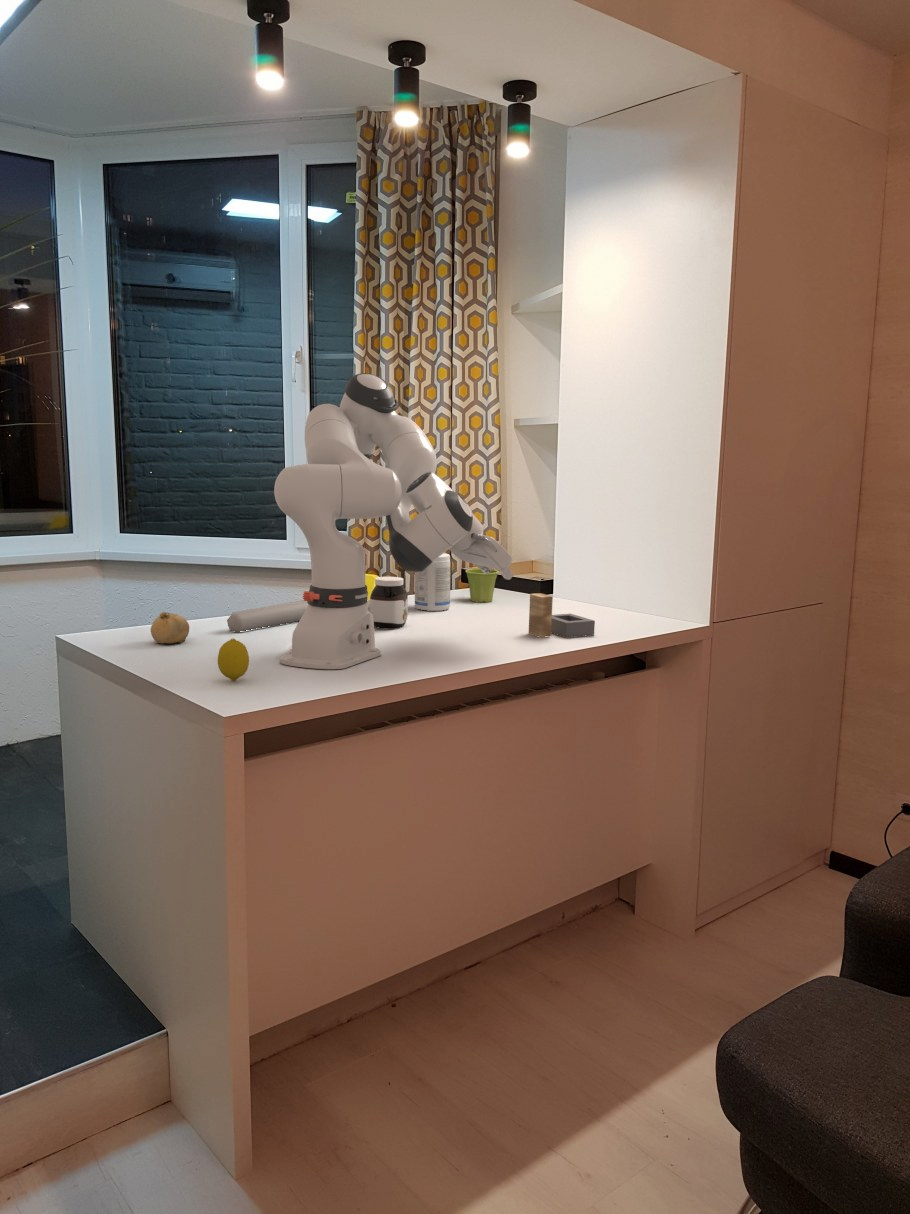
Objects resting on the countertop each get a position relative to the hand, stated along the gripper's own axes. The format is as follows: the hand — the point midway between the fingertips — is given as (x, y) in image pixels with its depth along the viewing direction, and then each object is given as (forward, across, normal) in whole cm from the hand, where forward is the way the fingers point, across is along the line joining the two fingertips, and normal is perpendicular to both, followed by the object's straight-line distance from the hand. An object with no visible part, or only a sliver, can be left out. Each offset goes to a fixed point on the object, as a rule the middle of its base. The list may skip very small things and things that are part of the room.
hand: (499, 574), depth 208 cm
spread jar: (-2, +24, +23) cm, 34 cm away
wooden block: (+19, 0, +2) cm, 19 cm away
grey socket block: (+24, 0, -3) cm, 25 cm away
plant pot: (+26, +46, -5) cm, 54 cm away
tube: (-20, +33, +41) cm, 56 cm away
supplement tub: (+13, +40, +8) cm, 43 cm away
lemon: (-35, -15, +56) cm, 68 cm away
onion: (-38, +22, +59) cm, 74 cm away
